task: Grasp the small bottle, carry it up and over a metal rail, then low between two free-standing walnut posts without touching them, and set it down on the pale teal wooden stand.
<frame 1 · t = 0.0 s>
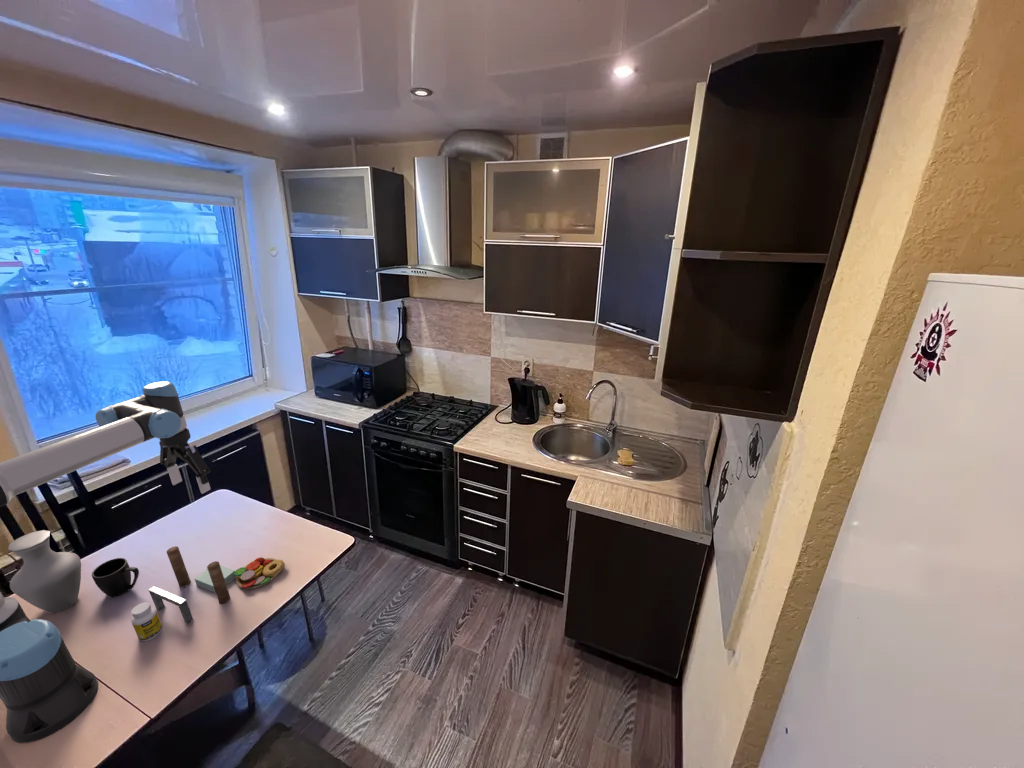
hand: (191, 487, 139), 28 cm above the table, fingers open, 13 cm apart
vase: (63, 604, 130), on the table
mug: (125, 590, 134), on the table
supplement bottle: (151, 633, 121), on the table
post far: (185, 583, 137), on the table
rail hurdle: (174, 614, 126), on the table
toy food set: (259, 576, 140), on the table
stand: (216, 580, 138), on the table
post near: (224, 599, 131), on the table
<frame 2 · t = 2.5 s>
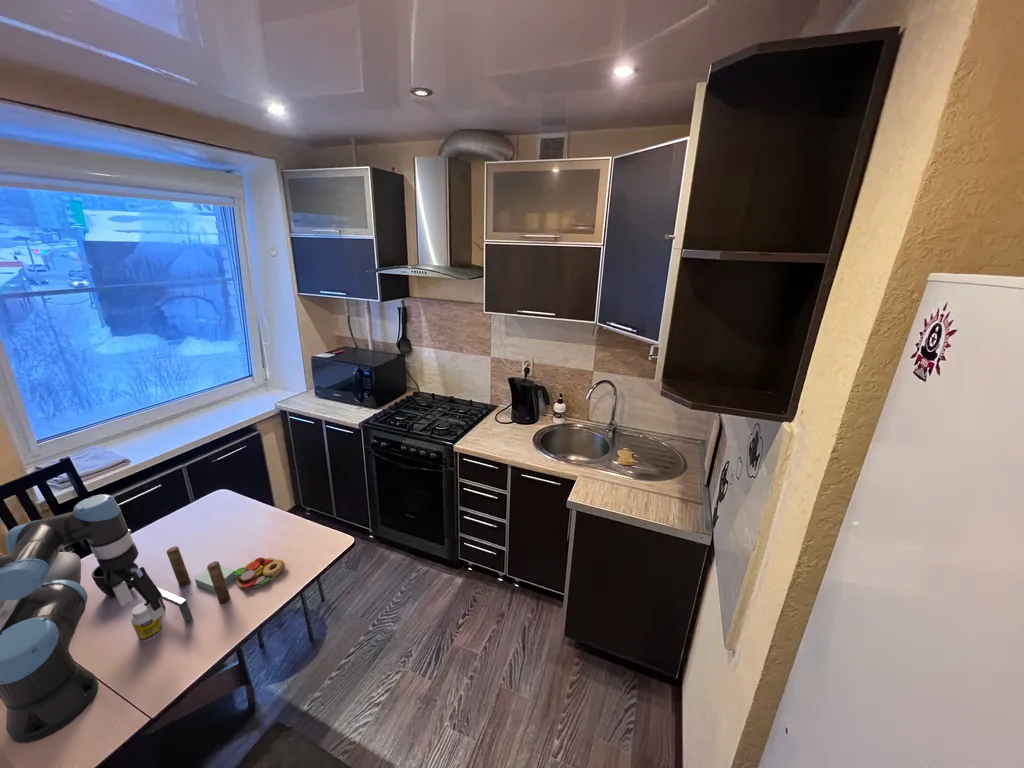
hand: (142, 609, 117), 9 cm above the table, fingers open, 13 cm apart
nothing on the table moved.
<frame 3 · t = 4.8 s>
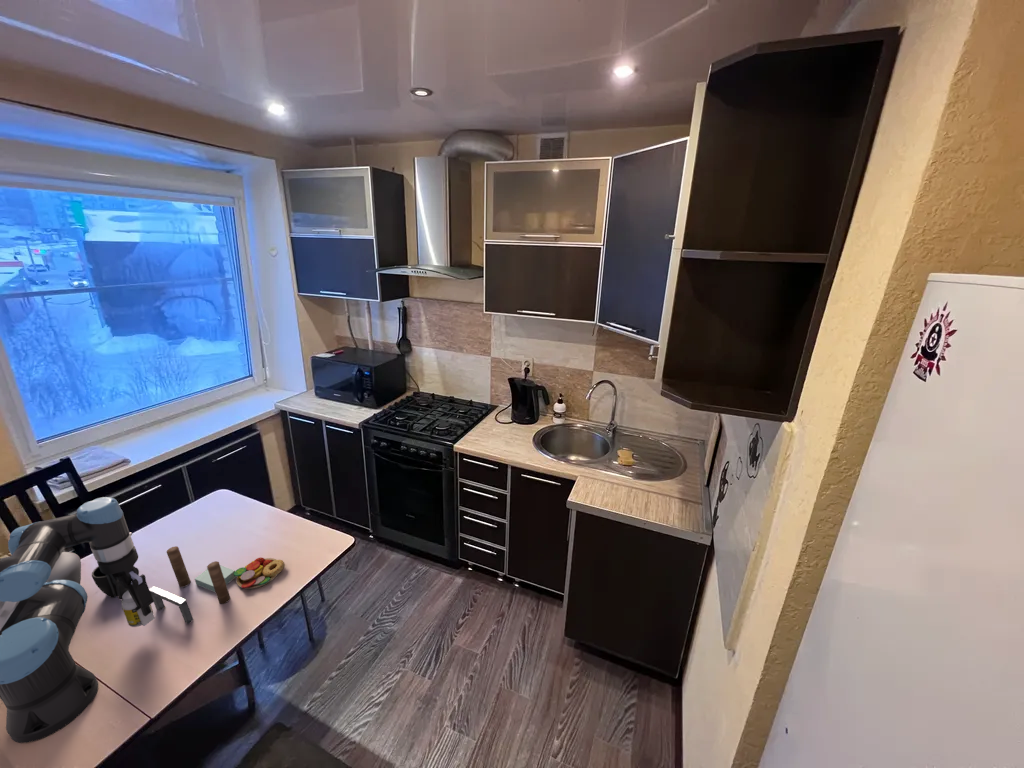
hand: (141, 618, 118), 6 cm above the table, fingers closed on supplement bottle, 5 cm apart
supplement bottle: (141, 619, 118), point 6 cm above the table, touching gripper
everything else where it was.
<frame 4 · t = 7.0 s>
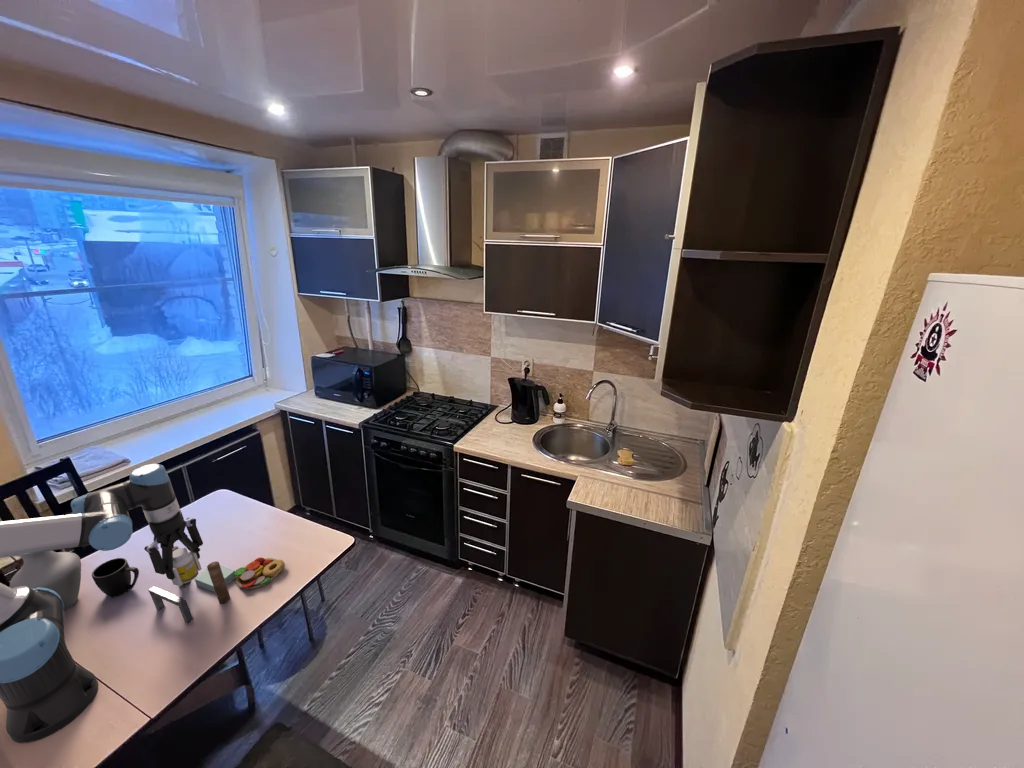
hand: (187, 576, 128), 9 cm above the table, fingers closed on supplement bottle, 5 cm apart
supplement bottle: (188, 577, 129), point 8 cm above the table, touching gripper
everything else where it was.
when the fingers open (3 cm above the table, at t = 9.5 s): supplement bottle stays where it is, resting on stand.
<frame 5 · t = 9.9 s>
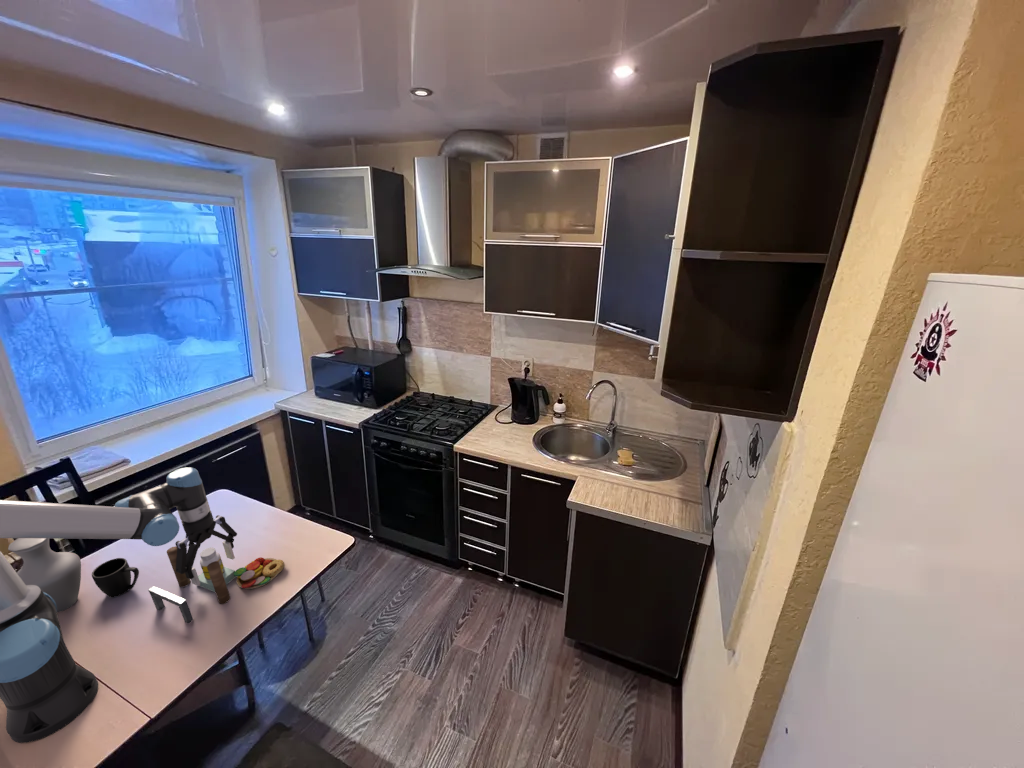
hand: (214, 570, 136), 4 cm above the table, fingers open, 11 cm apart
supplement bottle: (215, 575, 137), point 2 cm above the table, touching stand
everything else where it was.
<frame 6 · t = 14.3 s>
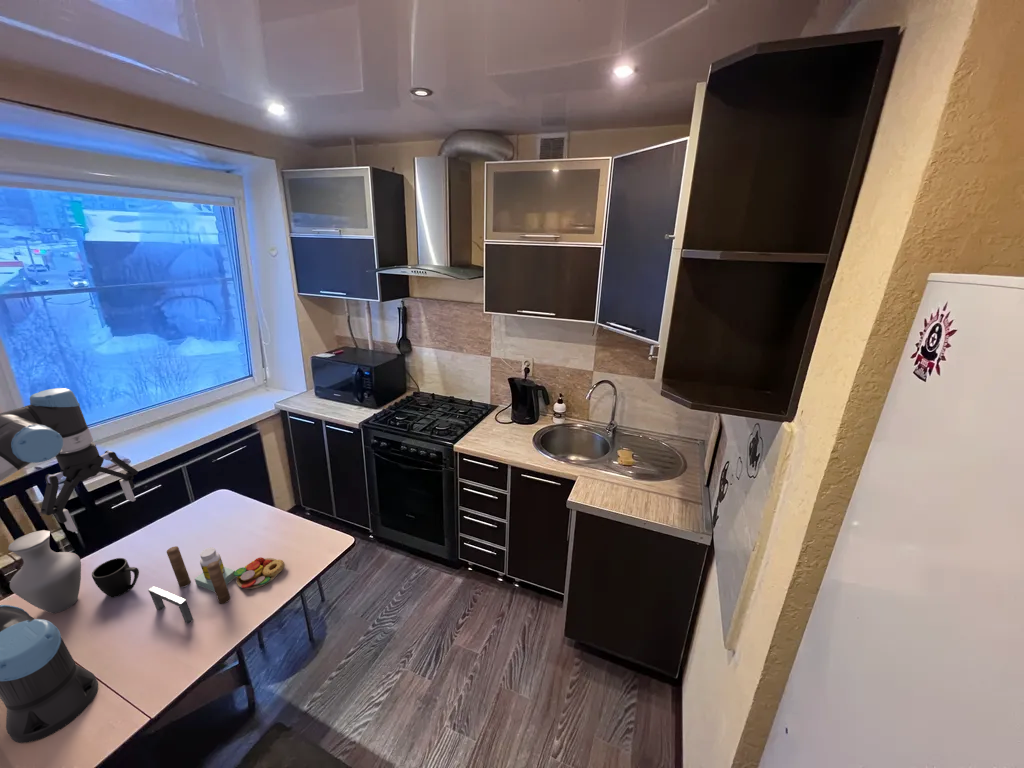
hand: (103, 514, 116), 35 cm above the table, fingers open, 13 cm apart
nothing on the table moved.
at the end: supplement bottle inside the target area on the stand (0.5 cm from its centre), point 2.3 cm above the stand's base; post near moved 0.0 cm from its start; post far moved 0.0 cm from its start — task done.
